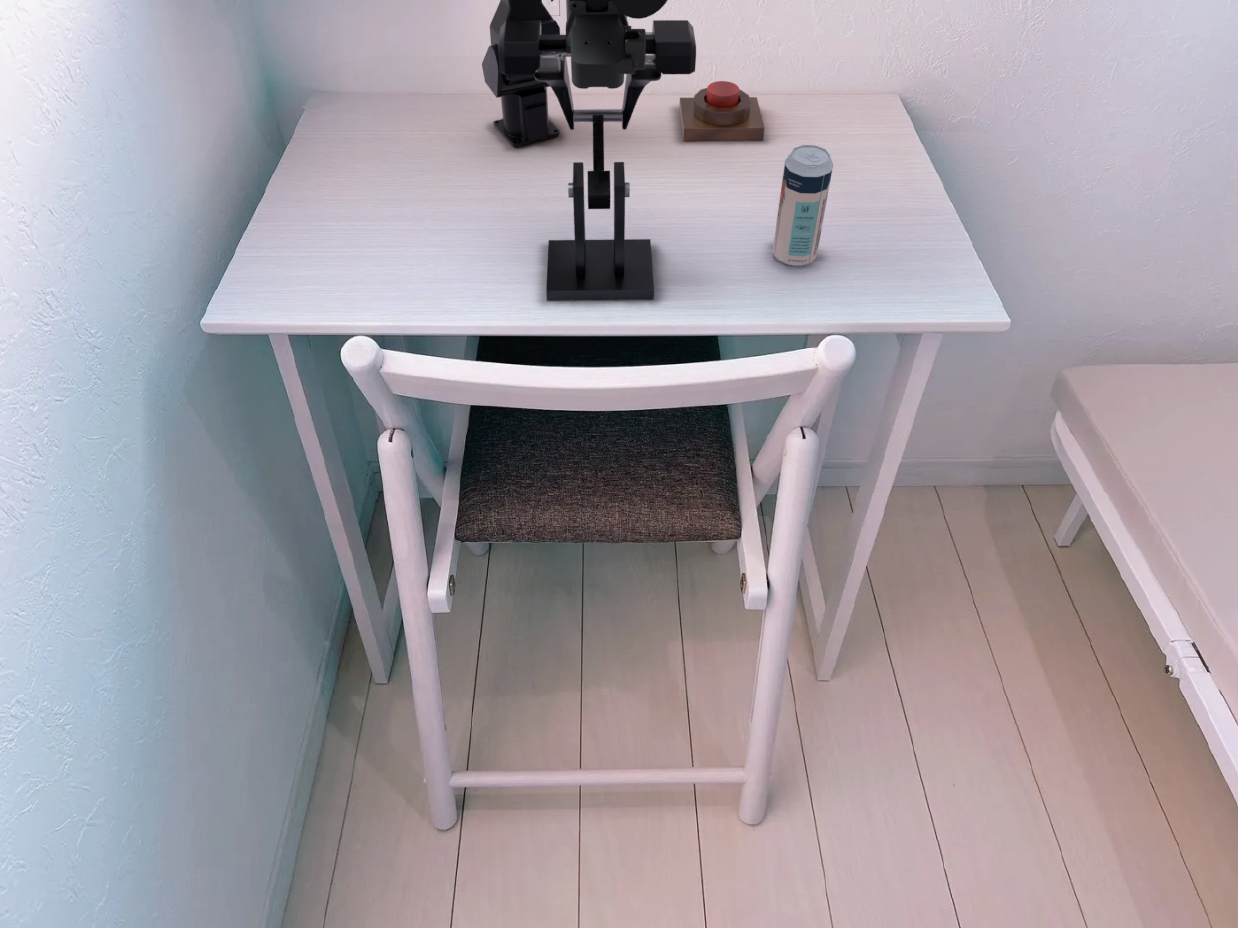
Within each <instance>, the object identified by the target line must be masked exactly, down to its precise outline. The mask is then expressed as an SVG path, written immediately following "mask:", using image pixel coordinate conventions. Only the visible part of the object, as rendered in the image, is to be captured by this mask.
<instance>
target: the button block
mask: <svg viewBox="0 0 1238 928" xmlns="http://www.w3.org/2000/svg"><path fill="white" fill-rule="evenodd" d="M706 97H707V87H705V88H701V89H700V90H699V91H697V92H696V93H695V95H694V97H679V103H678V105H679V106H678V111H679V120H680V128H681V134H682V141H683V142H715V141H716V142H721V141H722V142H728V141H729V142H730V141H731V142H733V141H736V142H738V141H739V142H741V141H743V142H744V141H749V142H750V141H764V134H765V125H764V121H763V117H762V113H761V108H760V105H759V100H758V97H757V96H750V95H749V94H747V93H746V92H745V91H743V90H742V89H740V88H739V99H738V104H737V106H734V107H730V108H718V107H714V106H710V105H709V104H707V102H706Z"/></svg>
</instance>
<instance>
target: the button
mask: <svg viewBox="0 0 1238 928" xmlns="http://www.w3.org/2000/svg"><path fill="white" fill-rule="evenodd" d="M706 88H707V97H706V102H707V104H709V105H710V106H714V107H718V108H730V107H734V106H737V104H738V99H739V89H740V86H739V85H738V84H736V83H734V82H731V81H727V80H717V81H712V82H711V83H709V84H708V85H707V87H706Z"/></svg>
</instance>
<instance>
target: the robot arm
mask: <svg viewBox="0 0 1238 928" xmlns="http://www.w3.org/2000/svg"><path fill="white" fill-rule="evenodd" d="M667 2H668V0H565V3H566V4H565V8H566V9H565V10H566V22H565V34H561V27H560V26H559V24H558V22H557V20H555V19H554V17H553V16H552V15H551V14H550V12H549V11H548V9H547V7H546V6H545V4H544V3H543V0H499V2H498V5H497V8H496V10H495V12H494V14H493V17H492V19H491V21H490V24H489V37H490V45H488V47H487V50H486V53H485V55H484V57H483V60H482V62H481V68H482V73H483V77H484V83H485V85H487V87H488V88H489V90H490V91H491V92H492V94H493V95H494V97H495V98H497V99H499V98H500V103H501V113H502V114H501V115H502V118H501V119H497V120H493V122H492V123H493V127H494V128H495V129H496V130H497V131H498V132H499V134H501V136H502V137H503V138H504V139H505V140H506V141H507V142H508V143H509V144H510V145H511V147H513V148H518V147H522V146H526V145H530V144H533V143H537V142H540V141H544V140H547V139H551V138H555V137H559V136H560V135H561V132H560V129H559V128H558V127H557V126H555V124H554V123H553V122H552V121H551V120H550V119H549V118H550V117H549V104H548V103H549V101H548V100H549V99H548V88H549V87H550V88H551V89H552V92H553V93H554V95H555V97H556V98H557V101H558V103H559V107H560V108H561V111H562V113H563V115H564V118H565V120H566V123H567V125H568V128H569V130H570V131H574V130H575V122H573V110H575V108H574V101H573V95H572V87H571V83H572V85H573V86H574V87H575V88H577V89H581V90H587V89H589V88H608V89H611V90H614V89H619V88H620V87H622V86H623V85H624V89H623V90H624V91H623V99H622V107H621V109H622V110H623V122H621V129H622V130H625V131H626V130H627V129H628V126H629V124H630V121H631V119H632V115H633V113H634V110H635V108H636V105H637V103H638V100H639V98H640V96H641V94H642V92H643V91H644V89H645V88H646V87H647V85H648V84H650V83H651V82H658V81H660V80H661V78H662V75H691V74H693V73H695V72H696V65H697V64H696V63H697V43H696V36H695V31H694V26H693V25H692V24H691V23H690V21H689V20H688V19H678V20H676V19H669V20H668V19H664V20H663V19H661V20H660V19H654V20H653V21H652V26H651V27H652V29H651V31H646V28H632V25H630V24H629V20H628V18H630V19H635V20H640V19H647V18H648V17H651V16H653V15H654V14H656V13H657V12H659V11H660V10H661V9H662V8H663V7H664V6H665V5H666V4H667ZM569 57H570V68H571V69H570V70H571V71H570V72H571V80H570V74H569V66H568V58H569Z"/></svg>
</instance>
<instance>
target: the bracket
mask: <svg viewBox="0 0 1238 928" xmlns="http://www.w3.org/2000/svg"><path fill="white" fill-rule="evenodd" d="M572 166H573V167H572V182H568V184H567V196H568V198H570V199H571V198H572V201H573V202H572V203H573V230H574V231H573V234H574V239H548V241H547V242H548V243H547V246H548V247H547V265H546V266H547V267H546V287H545V292H546V293H545V294H546V295H545V296H546V301H613V300H614V301H620V300H621V301H624V300H626V301H627V300H628V301H629V300H630V301H631V300H632V301H633V300H655V283H654V282H655V281H654V268H653V256H652V243H651V242H652V241H651V239H650V238H644V239H643V238H633V239H632V238H631V239H629V238H628V239H626V238H625V237H626V233H625V232H626V198H630V197H631V188H630V187H631V186H630V184H631V183H630V182H629V181H626V174H625V162H624V161H613V239H586V217H585V216H586V215H585V214H586V213H585V212H586V211H585V208H586V207H585V172H584V171H585V170H584V169H585V168H584V167H585V166H584V162H583V161H582V162H581V161H577V162H575V161H574V162H573V163H572Z"/></svg>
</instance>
